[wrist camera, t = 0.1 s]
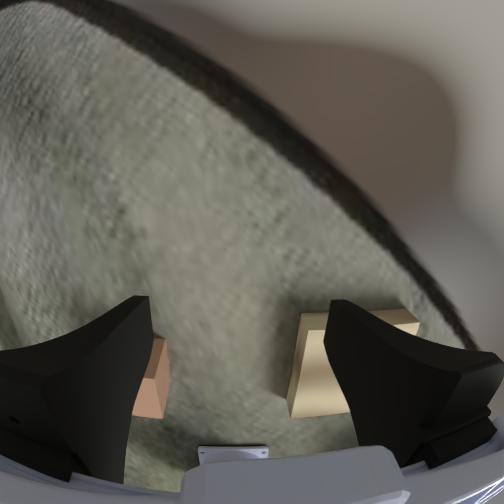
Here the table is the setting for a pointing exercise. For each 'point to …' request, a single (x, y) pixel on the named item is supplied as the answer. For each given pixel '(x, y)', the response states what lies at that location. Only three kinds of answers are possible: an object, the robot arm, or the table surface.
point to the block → (154, 383)
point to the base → (326, 365)
